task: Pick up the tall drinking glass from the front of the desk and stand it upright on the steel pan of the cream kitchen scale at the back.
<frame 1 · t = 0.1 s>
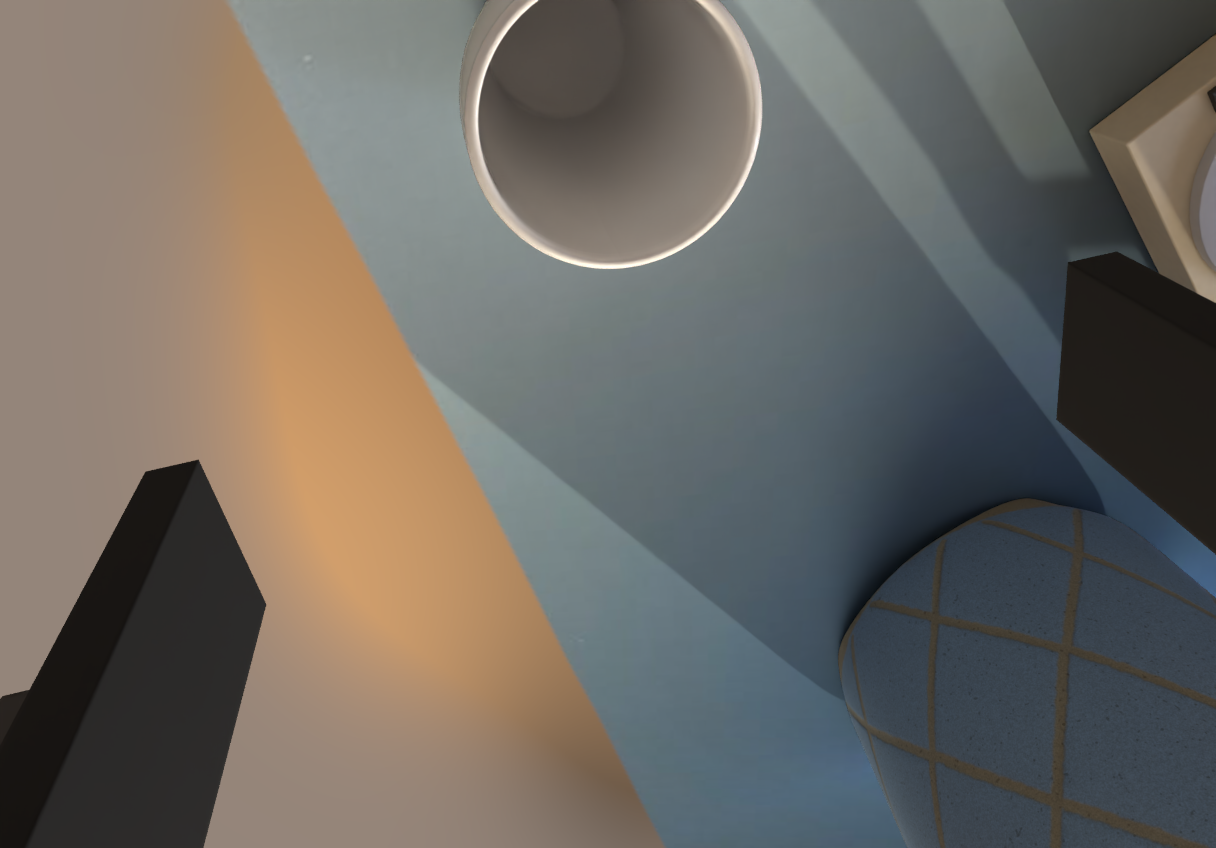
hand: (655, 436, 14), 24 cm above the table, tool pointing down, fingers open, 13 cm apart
planter: (989, 628, 51), on the table
drinking glass: (551, 39, 34), on the table
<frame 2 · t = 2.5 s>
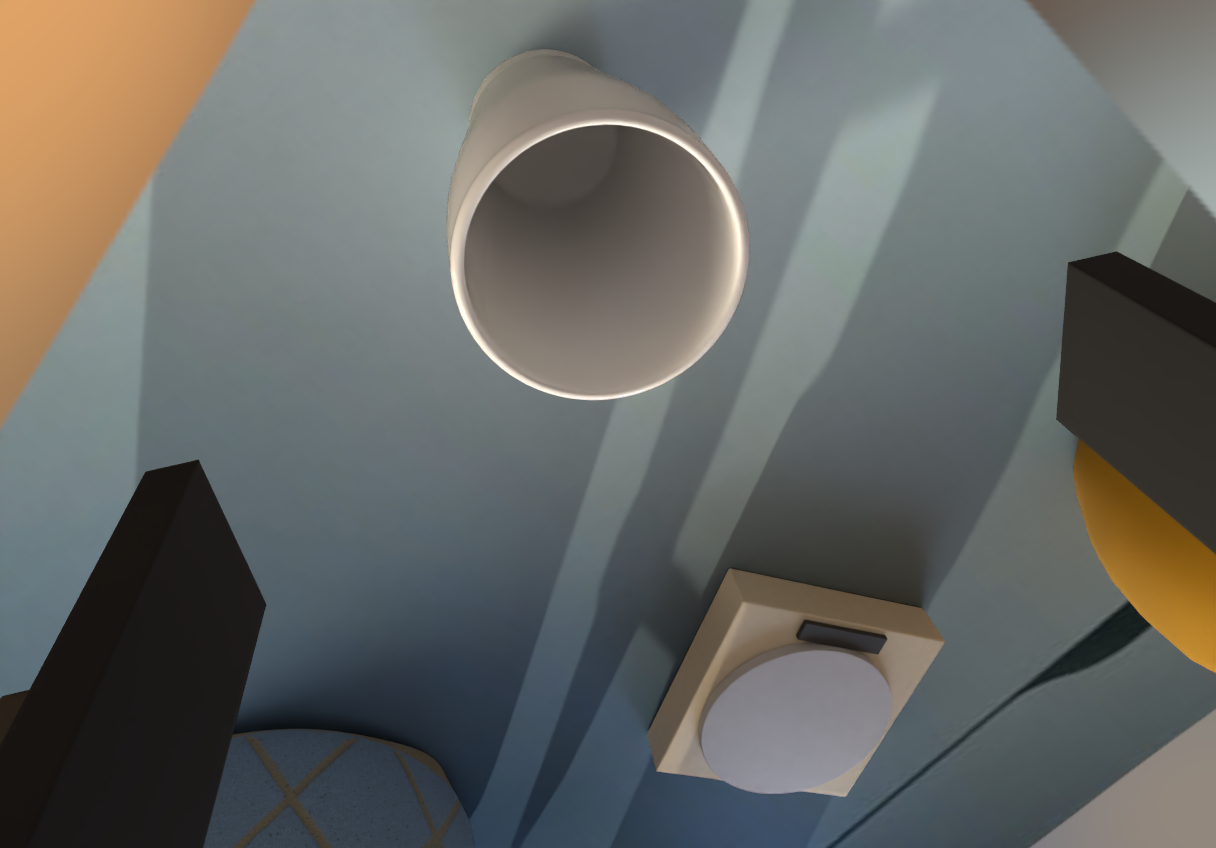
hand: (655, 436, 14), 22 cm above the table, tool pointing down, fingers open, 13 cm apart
planter: (300, 833, 49), on the table
apple: (1134, 438, 45), on the table
scale: (783, 671, 48), on the table
drinking glass: (543, 125, 34), on the table
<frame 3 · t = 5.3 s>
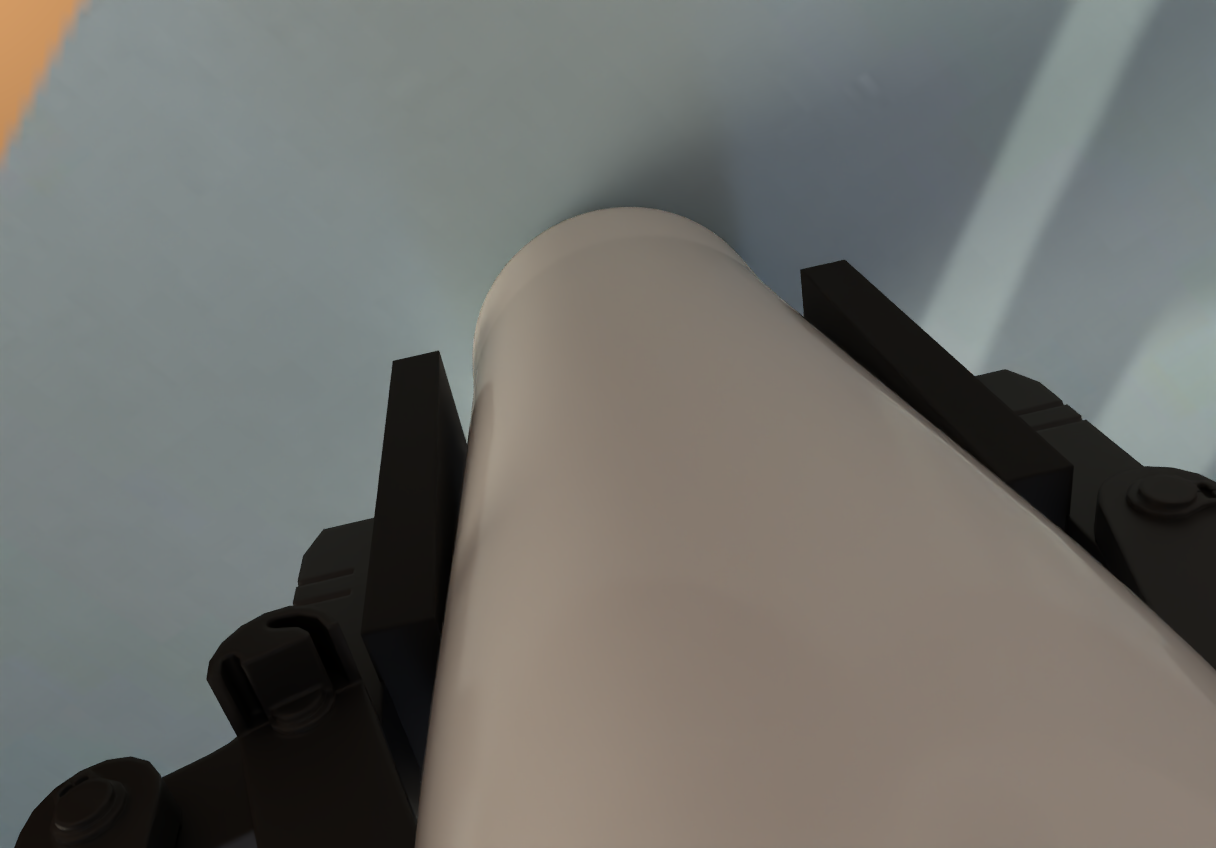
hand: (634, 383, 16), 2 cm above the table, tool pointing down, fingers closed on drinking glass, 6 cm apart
drinking glass: (615, 334, 18), on the table, touching gripper
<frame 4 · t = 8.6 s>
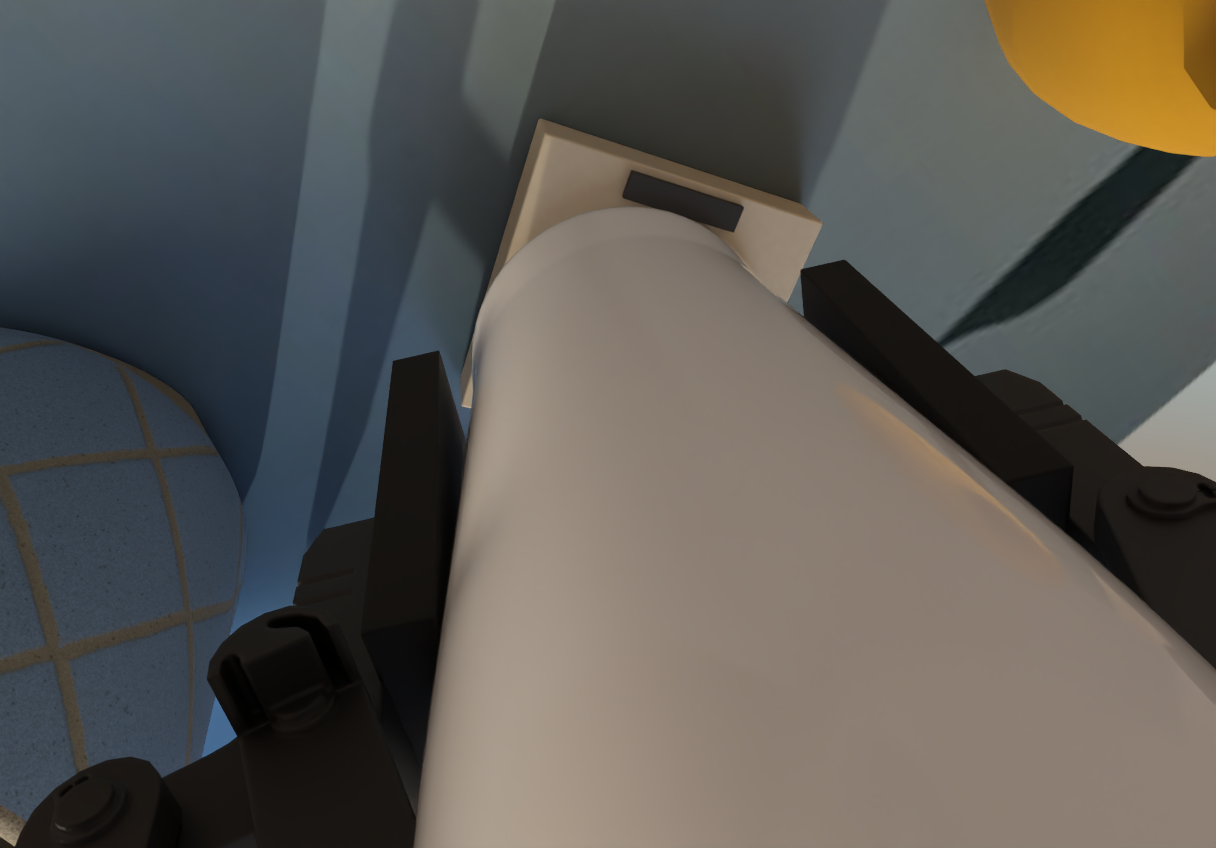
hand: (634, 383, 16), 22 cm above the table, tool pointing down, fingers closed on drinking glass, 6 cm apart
planter: (29, 507, 39), on the table
scale: (627, 292, 38), on the table
drinking glass: (615, 334, 18), point 19 cm above the table, touching gripper
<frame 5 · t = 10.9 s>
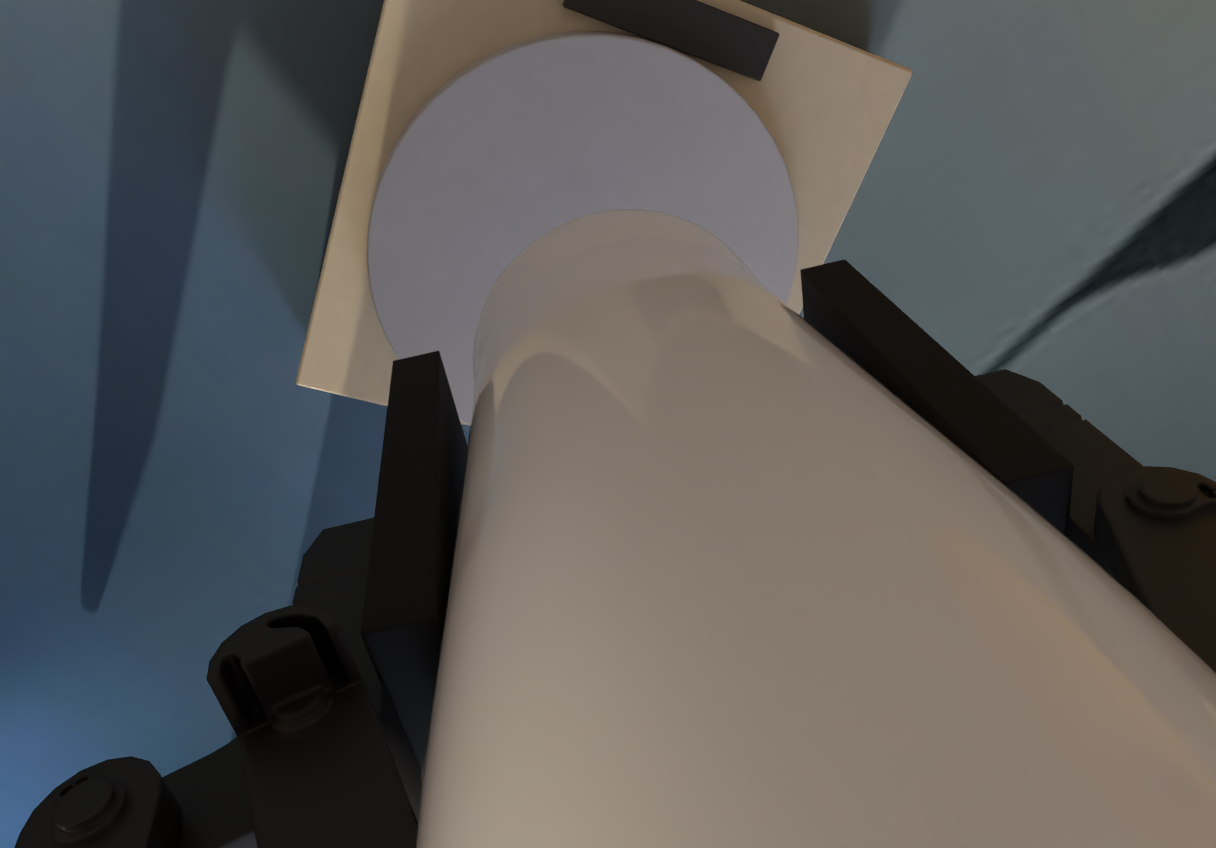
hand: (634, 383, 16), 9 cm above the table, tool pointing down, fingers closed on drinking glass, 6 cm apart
scale: (581, 202, 23), on the table
drinking glass: (615, 336, 18), point 7 cm above the table, touching gripper
when the fingers open (5 cm above the table, at t = 12.4 s): drinking glass stays where it is, resting on scale.
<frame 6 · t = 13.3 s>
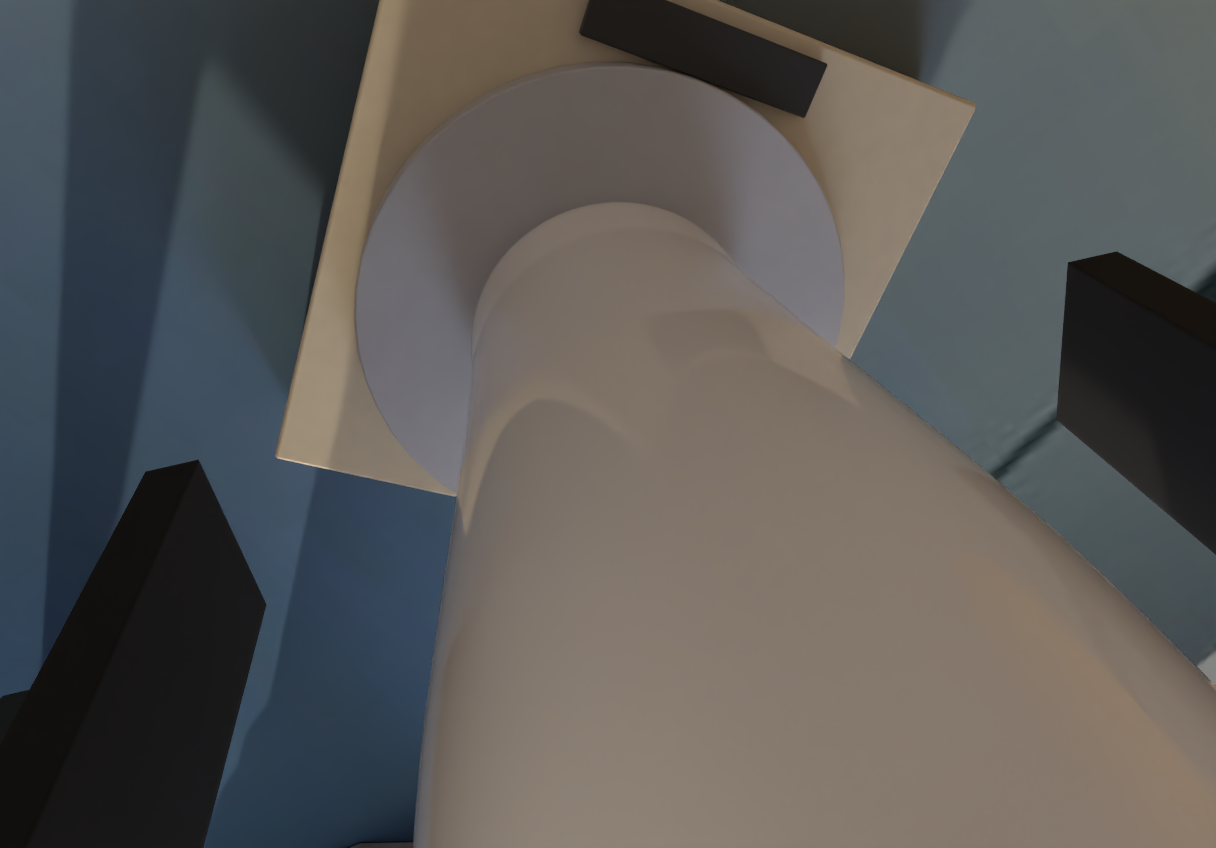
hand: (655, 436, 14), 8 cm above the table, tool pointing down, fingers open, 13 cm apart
scale: (596, 249, 21), on the table
drinking glass: (606, 324, 19), point 3 cm above the table, touching scale
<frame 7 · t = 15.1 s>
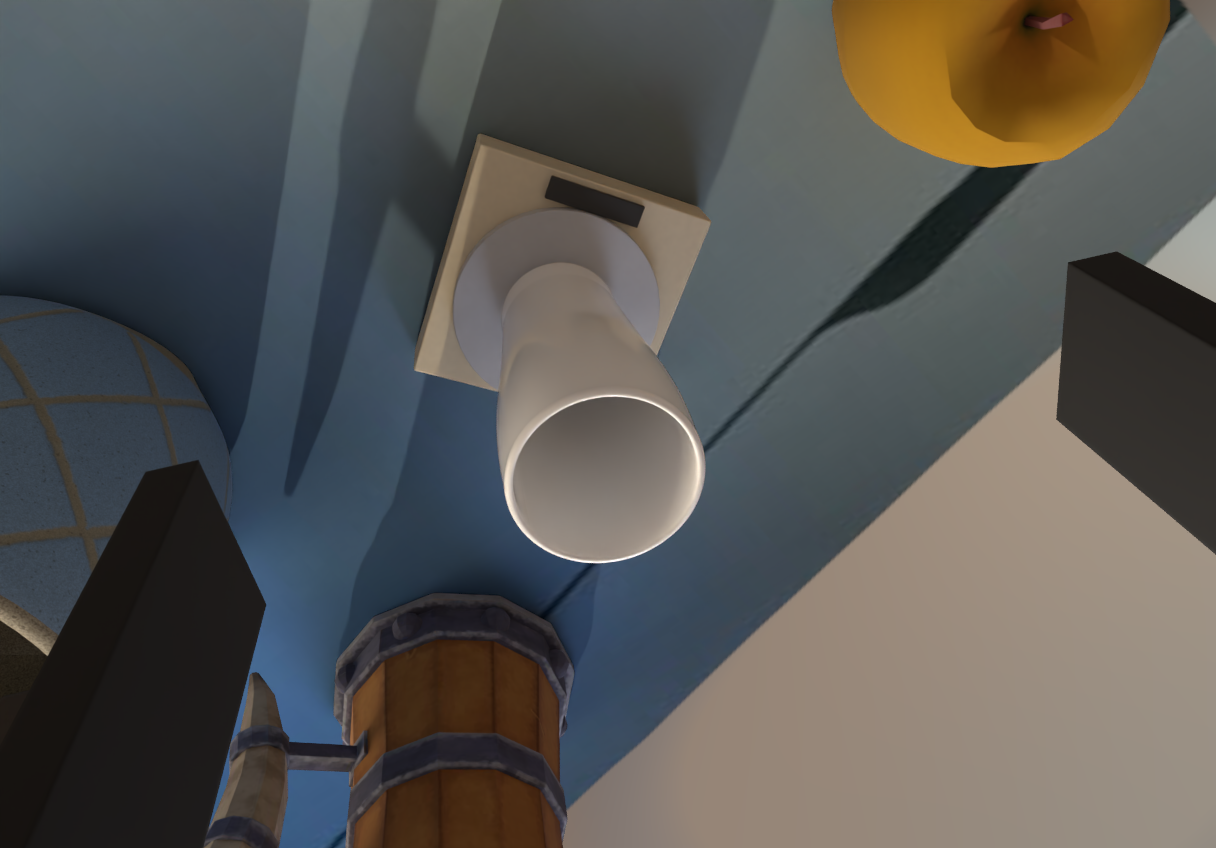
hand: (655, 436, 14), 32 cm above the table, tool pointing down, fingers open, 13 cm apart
planter: (48, 455, 46), on the table
apple: (904, 2, 43), on the table
scale: (555, 279, 46), on the table
drinking glass: (557, 312, 44), point 3 cm above the table, touching scale
mug: (416, 675, 56), on the table
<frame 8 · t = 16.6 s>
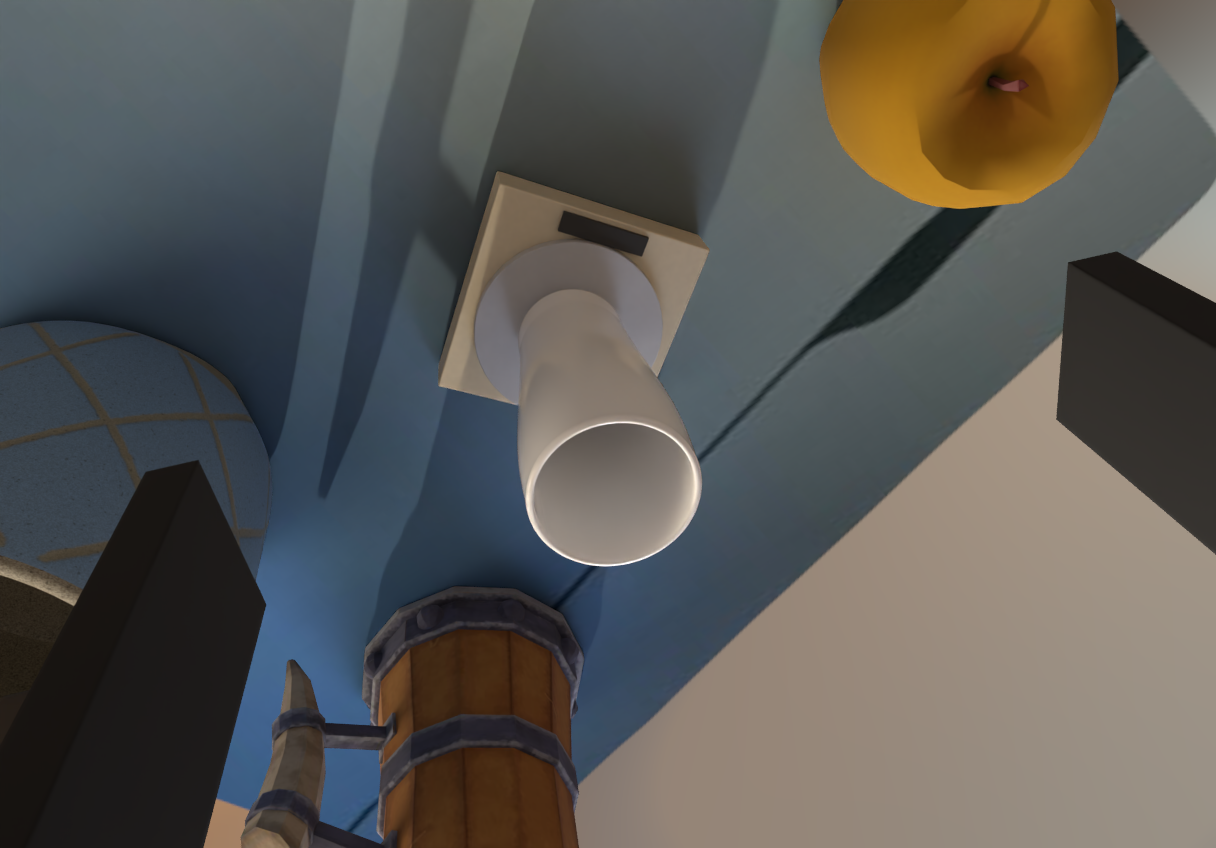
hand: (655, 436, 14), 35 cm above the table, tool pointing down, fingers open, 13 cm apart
planter: (104, 462, 51), on the table
apple: (886, 48, 46), on the table
scale: (566, 301, 50), on the table
drinking glass: (569, 333, 48), point 3 cm above the table, touching scale
mug: (438, 662, 61), on the table
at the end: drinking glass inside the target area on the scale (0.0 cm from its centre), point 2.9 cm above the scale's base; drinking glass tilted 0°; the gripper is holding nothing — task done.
